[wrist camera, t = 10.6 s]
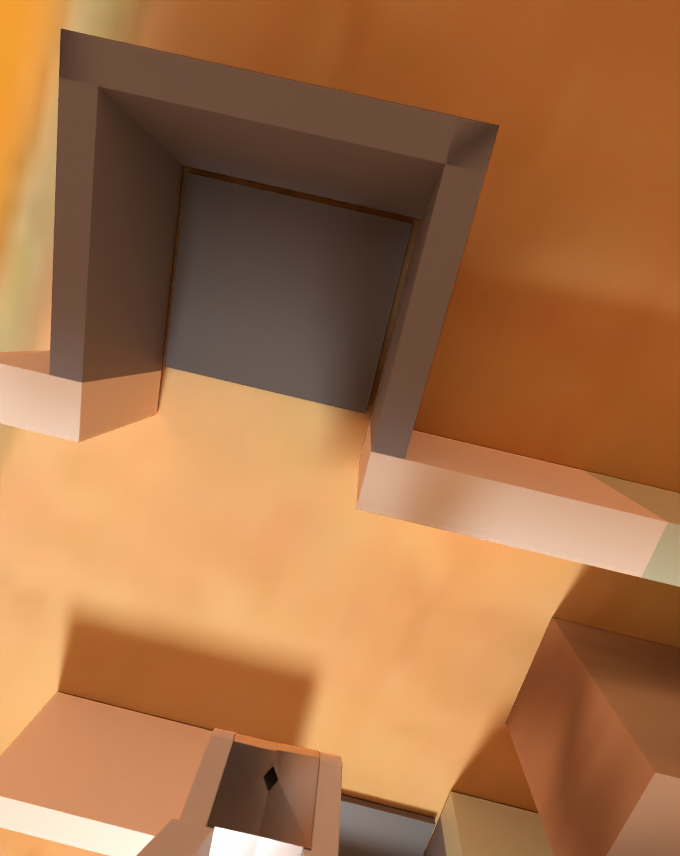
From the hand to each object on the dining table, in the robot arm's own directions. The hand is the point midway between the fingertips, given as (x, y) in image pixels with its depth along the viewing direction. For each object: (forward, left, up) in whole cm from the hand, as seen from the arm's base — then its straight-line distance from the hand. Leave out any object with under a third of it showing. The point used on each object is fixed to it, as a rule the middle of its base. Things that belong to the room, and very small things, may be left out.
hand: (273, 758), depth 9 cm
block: (+1, +11, -6) cm, 12 cm away
